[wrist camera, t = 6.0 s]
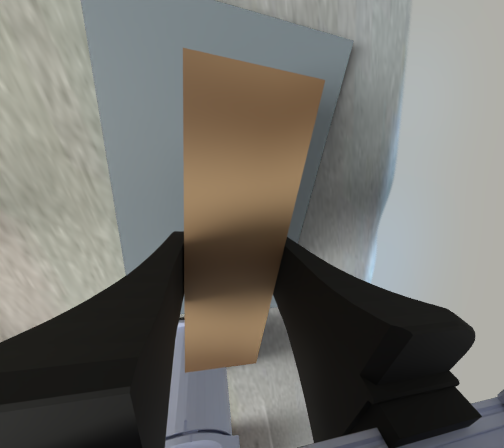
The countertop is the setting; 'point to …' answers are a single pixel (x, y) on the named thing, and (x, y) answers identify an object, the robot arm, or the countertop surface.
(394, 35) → the countertop surface
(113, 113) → the peg rack
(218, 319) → the wooden block
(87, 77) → the countertop surface
